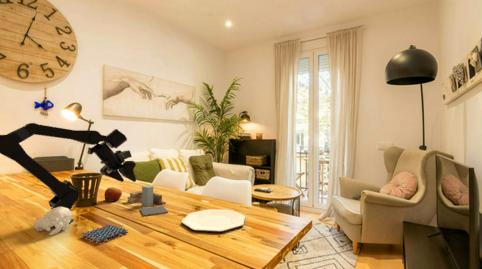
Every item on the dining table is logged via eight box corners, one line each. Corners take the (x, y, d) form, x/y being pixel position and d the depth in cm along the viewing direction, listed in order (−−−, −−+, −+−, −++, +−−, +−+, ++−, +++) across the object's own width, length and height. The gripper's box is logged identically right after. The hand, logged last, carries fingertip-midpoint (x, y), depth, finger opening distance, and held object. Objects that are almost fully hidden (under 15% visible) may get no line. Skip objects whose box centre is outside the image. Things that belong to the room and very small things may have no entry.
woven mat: (99, 247, 70) (99, 240, 70) (79, 239, 75) (79, 233, 75) (130, 235, 80) (130, 229, 80) (110, 228, 85) (111, 223, 85)
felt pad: (143, 216, 97) (143, 215, 97) (140, 210, 105) (140, 208, 105) (167, 212, 102) (168, 211, 102) (163, 207, 110) (163, 205, 110)
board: (147, 206, 110) (147, 187, 111) (141, 204, 114) (142, 186, 114) (153, 205, 113) (153, 186, 113) (147, 203, 116) (148, 185, 116)
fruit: (96, 200, 116) (104, 184, 120) (108, 204, 122) (114, 189, 126) (109, 201, 114) (116, 185, 118) (120, 206, 120) (126, 191, 124)
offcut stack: (131, 203, 116) (131, 194, 116) (127, 201, 119) (127, 193, 119) (145, 200, 121) (145, 192, 121) (140, 199, 124) (141, 190, 124)
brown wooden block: (158, 205, 113) (159, 196, 113) (146, 200, 121) (146, 192, 121) (165, 203, 116) (165, 194, 116) (153, 199, 124) (153, 191, 124)
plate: (246, 214, 103) (246, 210, 103) (241, 236, 79) (241, 231, 79) (194, 211, 105) (194, 208, 105) (173, 232, 81) (173, 228, 81)
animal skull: (56, 209, 76) (26, 211, 78) (57, 236, 76) (27, 236, 78) (73, 204, 82) (45, 205, 84) (74, 229, 82) (46, 229, 84)
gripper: (133, 141, 100) (153, 168, 108) (109, 145, 110) (129, 169, 117) (114, 159, 92) (137, 186, 100) (89, 161, 102) (112, 186, 109)
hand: (129, 181), depth 107 cm, fingers open, 9 cm apart
